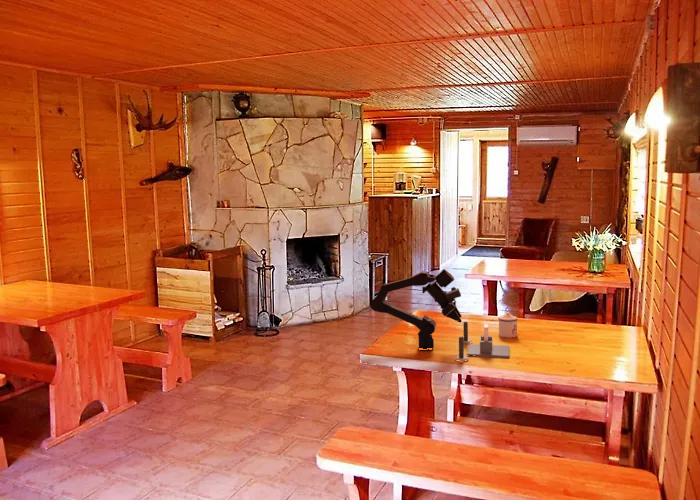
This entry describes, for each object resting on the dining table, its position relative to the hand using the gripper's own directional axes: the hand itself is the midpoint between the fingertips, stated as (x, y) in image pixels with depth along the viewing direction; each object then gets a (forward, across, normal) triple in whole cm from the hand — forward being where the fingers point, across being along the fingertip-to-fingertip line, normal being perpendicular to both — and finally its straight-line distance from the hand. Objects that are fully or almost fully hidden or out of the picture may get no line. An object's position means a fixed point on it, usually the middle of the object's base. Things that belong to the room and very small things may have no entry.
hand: (460, 319), depth 263 cm
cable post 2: (+12, +12, +8) cm, 19 cm away
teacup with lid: (+26, +28, -8) cm, 39 cm away
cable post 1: (+11, -15, +9) cm, 21 cm away
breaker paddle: (+17, -2, 0) cm, 17 cm away
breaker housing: (+18, -2, +1) cm, 18 cm away
